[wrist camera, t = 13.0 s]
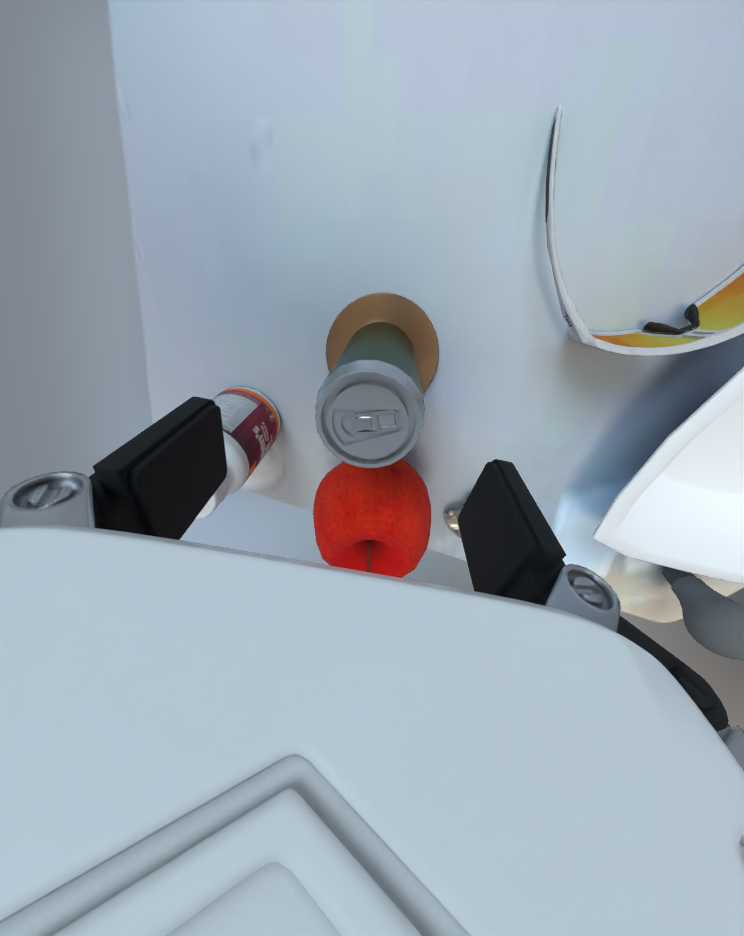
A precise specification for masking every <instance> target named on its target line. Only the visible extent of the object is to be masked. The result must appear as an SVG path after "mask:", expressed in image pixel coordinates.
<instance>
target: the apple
mask: <svg viewBox="0 0 744 936" xmlns="http://www.w3.org/2000/svg"><path fill="white" fill-rule="evenodd" d="M313 515H314V527H315V534H316V542H317V545H318V547H319V550H320V553H321V555H322V558H323V559H324V560H325V561H326V562H327V563H328V564H329V565H330V566H335V567H341V568H347V569H353V570H358V571H364V572H370V573H376V574H381V575H387V576H393V577H398V578H402V577H403V576H405V575H406V574H408V573H410V572H411V571H413V570H414V569H415V567H416V566H417V564H418V563H419V561H420V559H421V558H422V556H423V554H424V552H425V551H426V549H427V545H428V540H429V536H430V526H431V505H430V500H429V496H428V491H427V487H426V485H425V483H424V482H423V480H422V478H421V477H420V475H419V474H418V473H417V471H416V470H415V469H414V468H413V467H412V466H410V465H409V464H408V463H406V462H405V461H404V460H402V459H400V460H398V461H396V462H394V463H392V464H391V465H387V466H382V467H378V468H363V467H358V466H355V465H351V464H348V463H346V462H342V463H341V464H339V465H338V466H336V467H335V468H333V469H332V470H331V471H330V472H329V473H327V475H326V476H325V477H324V478H323V480H322V481H321V482H320V485H319V487H318V489H317V492H316V497H315V502H314V511H313Z"/></svg>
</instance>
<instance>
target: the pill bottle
mask: <svg viewBox="0 0 744 936" xmlns="http://www.w3.org/2000/svg"><path fill="white" fill-rule="evenodd" d="M212 400H213V401H214V402H215V404H216V405H217V406H219V407H220V409H221V417H222V426H223V435H224V444H225V453H226V462H227V475H226V478H225V480H224V481H223V483H222V484H221V485H220V487H219V488H218V489H217V490H216V492H215V493H214V494H213V496H212V497H211V498H210V500H209V501H208V502H207V504H206V505H205V506H204V508H203V509H202V510H201V512H200V513H199V514H198V516H197V517H196V518H195V520H197V519H202V518H205V517H207V516H209V515H210V514H211V513H212V512H213V511H214V510H215V509H216V508H217V506H218V505H219V504H220V503H221V502H222V501H223V500H224V498H225V497H226V496H227V495H230V494H232V493H234V492H236V491H237V490H238V489H240V488H241V487H242V485H243V484H244V483H245V482H246V480H247V479H248V478H249V476H250V475H251V473H252V472H253V471H254V469H255V468H256V466H257V465H258V464H259V462H260V461H261V460H262V458H263V457H264V455H265V454H266V453H267V451H268V450H269V448H270V447H271V445H272V444H273V442H274V441H275V439H276V438H277V436H278V434H279V431H280V417H279V414H278V411H277V409H276V408H275V406H274V405H273V404H272V402H271V401H270V400H269V399H268V398H267V397H265V396H264V395H263V394H261V393H260V392H258V391H256V390H253V389H251V388H247V387H232V388H229V389H227V390H225V391H223V392H221V393H220V394H219V395H217V396H216V397H214V398H213V399H212Z"/></svg>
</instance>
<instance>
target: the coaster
mask: <svg viewBox="0 0 744 936" xmlns="http://www.w3.org/2000/svg"><path fill="white" fill-rule="evenodd" d="M374 322H387V323H390V324H392V325H395V326H397V327H399V328H400V329H401V330H402V331H403V332H405V333H406V335H407V336H408V338H409V339H410V341H411V343H412V346H413V350H414V354H415V359H416V364H417V370H418V375H419V381H420V386H421V391H422V393H423V392H424V391H425V389H426V388H427V387H428V385H429V384H430V382H431V380H432V378H433V376H434V374H435V371H436V368H437V364H438V356H439V347H438V340H437V336H436V332H435V330H434V327H433V325H432V323H431V321H430V320H429V318H428V317H427V315H426V314H425V313H424V311H423V310H422V309H421V308H419V307H418V306H417V305H416V304H415V303H413V302H412V301H410V300H408V299H406V298H404V297H402V296H399V295H396V294H390V293H375V294H370V295H366V296H363V297H361V298H359V299H357V300H355V301H354V302H352V303H351V304H349V305H348V306H347V307H346V308H345V309H343V310H342V312H341V313H340V314H339V315H338V316H337V318H336V320H335V321H334V323H333V325H332V327H331V329H330V332H329V335H328V339H327V345H326V359H327V365H328V369H329V372H331V370H332V369H333V367H334V366H335V364H336V362H337V361H338V359H339V358H340V356H341V354H342V353H343V351H344V350H345V348H346V346H347V345H348V343H349V342H350V340H351V338H352V337H353V335H354V334H355V333H356V332H357V331H358V330H359V329H361V328H362V327H363V326H365V325H368V324H371V323H374Z"/></svg>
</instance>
